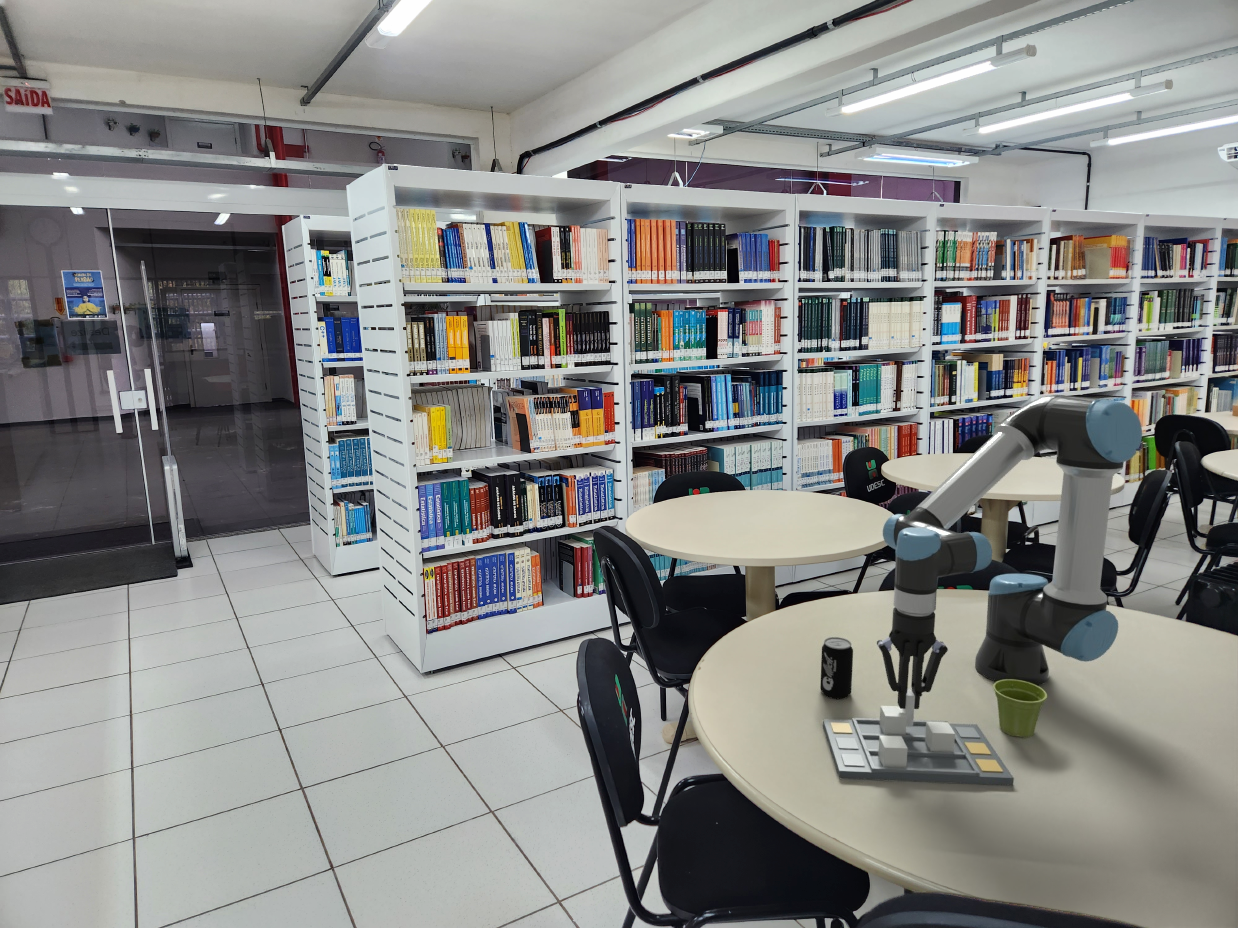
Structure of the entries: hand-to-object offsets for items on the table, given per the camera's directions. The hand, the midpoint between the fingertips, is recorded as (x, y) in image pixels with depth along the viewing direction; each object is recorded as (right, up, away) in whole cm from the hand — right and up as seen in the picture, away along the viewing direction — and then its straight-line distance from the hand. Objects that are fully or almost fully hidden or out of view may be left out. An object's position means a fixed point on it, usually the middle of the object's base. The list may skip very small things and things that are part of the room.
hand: (907, 722), depth 150 cm
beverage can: (-9, 0, +19) cm, 21 cm away
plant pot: (+23, -3, +3) cm, 23 cm away
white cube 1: (-3, -2, +1) cm, 3 cm away
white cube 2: (+4, -3, -6) cm, 7 cm away
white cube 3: (-7, -4, -10) cm, 13 cm away
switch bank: (-1, -4, -5) cm, 6 cm away
